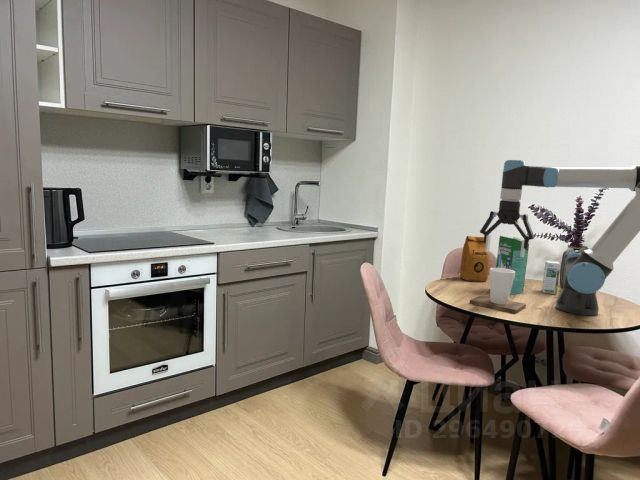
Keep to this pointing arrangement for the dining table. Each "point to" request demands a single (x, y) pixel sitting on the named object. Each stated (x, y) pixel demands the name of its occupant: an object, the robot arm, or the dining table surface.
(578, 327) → the dining table surface
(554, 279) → the syrup box
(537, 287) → the dining table surface
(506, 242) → the milk carton
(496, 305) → the walnut board
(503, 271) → the foam cup
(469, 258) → the coffee package
